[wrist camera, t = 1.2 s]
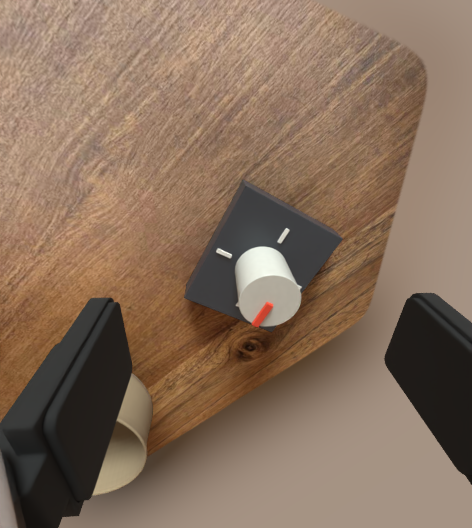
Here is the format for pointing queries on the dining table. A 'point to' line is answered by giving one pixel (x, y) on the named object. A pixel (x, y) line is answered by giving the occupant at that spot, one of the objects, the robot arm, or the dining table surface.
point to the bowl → (127, 440)
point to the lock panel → (258, 235)
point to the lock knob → (266, 287)
